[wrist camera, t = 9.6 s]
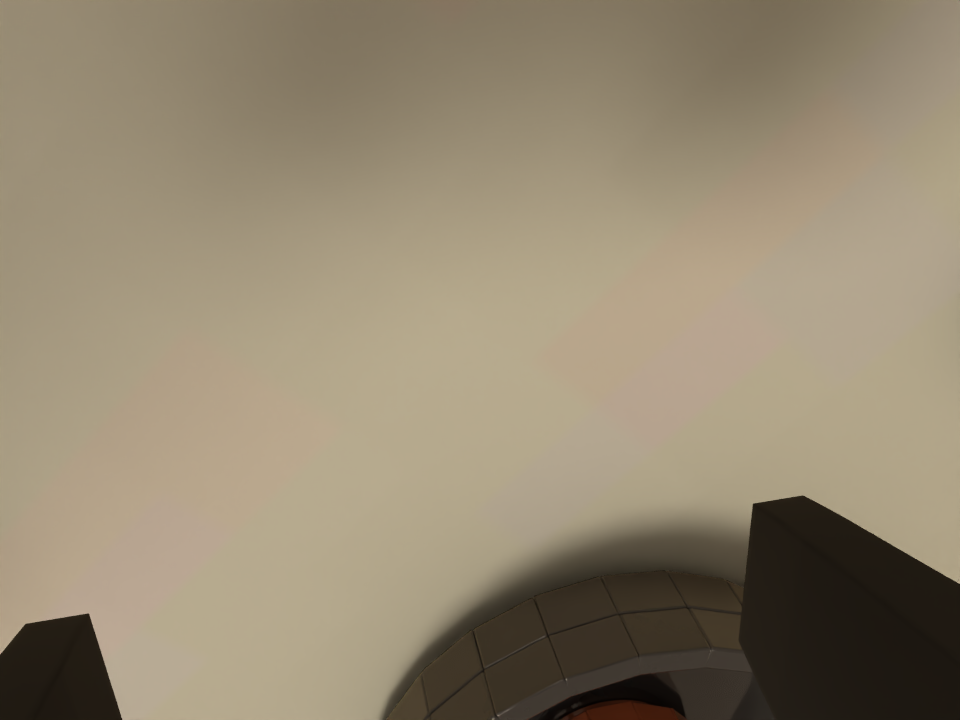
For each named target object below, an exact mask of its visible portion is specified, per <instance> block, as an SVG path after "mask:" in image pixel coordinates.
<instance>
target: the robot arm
mask: <svg viewBox="0 0 960 720" xmlns="http://www.w3.org/2000/svg"><path fill="white" fill-rule="evenodd" d="M738 641H739V643H740V645H741V647H742V650H743V652H744V654H745V656H746V658H747V661H748V663H749V665H750V667H751V670H752V672H753V674H754V676H755V679H756V681H757V683H758V685H759V687H760V689H761V691H762V693H763V696H764V698H765V700H766V702H767V704H768V706H769V708H770V710H771V712H772V714H773V716H774V718H775V720H960V584H959V583H957V582H955V581H953V580H951V579H950V578H948V577H946V576H944V575H943V574H941V573H939V572H937V571H936V570H934V569H932V568H930V567H929V566H927V565H925V564H924V563H922V562H920V561H918V560H917V559H915V558H913V557H911V556H910V555H908V554H906V553H905V552H903V551H901V550H899V549H898V548H896V547H894V546H892V545H891V544H889V543H887V542H886V541H884V540H882V539H880V538H879V537H877V536H875V535H874V534H872V533H870V532H868V531H867V530H865V529H863V528H861V527H860V526H858V525H856V524H854V523H853V522H851V521H849V520H848V519H846V518H844V517H842V516H840V515H839V514H837V513H835V512H833V511H831V510H830V509H828V508H826V507H824V506H822V505H820V504H819V503H817V502H815V501H813V500H811V499H809V498H807V497H805V496H797V497H791V498H785V499H779V500H773V501H767V502H761V503H755V504H753V509H752V518H751V528H750V537H749V546H748V555H747V565H746V574H745V583H744V593H743V602H742V611H741V620H740V630H739V639H738ZM0 720H122V718H121V714H120V711H119V708H118V705H117V702H116V699H115V695H114V692H113V689H112V686H111V683H110V679H109V676H108V673H107V670H106V667H105V663H104V660H103V657H102V654H101V651H100V648H99V644H98V641H97V638H96V635H95V632H94V628H93V625H92V622H91V619H90V616H89V614H83V615H77V616H71V617H65V618H59V619H53V620H47V621H40V622H34V623H28V624H25V625H24V627H23V628H22V629H21V630H20V631H19V633H18V634H17V635H16V636H15V637H14V639H13V640H12V641H11V642H10V643H9V645H8V646H7V647H6V648H5V650H4V651H3V652H2V653H1V654H0Z"/></svg>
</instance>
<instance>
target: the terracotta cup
mask: <svg viewBox="0 0 960 720" xmlns="http://www.w3.org/2000/svg"><path fill="white" fill-rule="evenodd" d="M560 720H687V719H686V718H684V717H683V716H682V715H681V714H679V713H678V712H677V711H675V710H674V709H673V708H668V707H664V706H658V705H652V704H649V703H646V702H642V701H636V700H610V701H604V702H599V703H595V704H592V705H589V706H586V707H583V708H580V709H578V710H576V711H574V712H572V713H570V714H568V715H566V716H565V717H563V718H561V719H560Z"/></svg>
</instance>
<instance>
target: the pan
mask: <svg viewBox="0 0 960 720" xmlns="http://www.w3.org/2000/svg"><path fill="white" fill-rule="evenodd" d="M743 593H744V588H743V587H741V586H739V585H736V584H734V583H732V582H730V581H728V580H724V579H721V578H715V577H708V576H701V575H694V574H687V573H680V572H674V571H667V572H666V571H665V570H663V571H651V572H640V573H628V574H617V575H606V576H601V577H595V578H592V579H589V580H585V581H582V582H579V583H575V584H572V585H569V586H565V587H562V588H559V589H555V590H552V591H549V592H546V593H542V594H539V595H536V596H534V598H530V599H528V600H526V601H525V602H523V603H521V604H519V605H517V606H515V607H513V608H511V609H510V610H508V611H506V612H504V613H502V614H500V615H498V616H497V617H495V618H493V619H491V620H489V621H487V622H485V623H483V624H482V625H480V626H478V627H476V628H475V629H474V630H470V631H469V632H468V633H467V634H466V635H464V636H463V637H462V638H461V639H460V640H458V641H457V642H456V643H455V644H454V645H452V646H451V647H450V648H449V649H448V650H446V651H445V652H444V653H443V654H442V655H441V656H439V657H438V658H437V659H436V660H435V661H433V662H432V663H431V664H430V665H429V666H427V667H426V668H425V669H424V670H423V671H422V673H420V674H419V676H418V677H417V678H416V680H415V681H414V683H413V684H412V685H411V687H410V688H409V689H408V691H407V692H406V693H405V695H404V696H403V697H402V699H401V700H400V701H399V703H398V704H397V705H396V707H395V708H394V710H393V711H392V712H391V714H390V715H389V716H388V718H387V720H560V719H561V718H563V717H565V716H566V715H568V714H570V713H572V712H574V711H576V710H578V709H580V708H583V707H586V706H589V705H592V704H595V703H599V702H604V701H610V700H636V701H642V702H646V703H649V704H652V705H658V706H664V707H668V708H673V709H674V710H675V711H677V712H678V713H679V714H681V715H682V716H683V717H684V718H686V719H687V720H775V718H774V716H773V714H772V712H771V710H770V708H769V706H768V704H767V702H766V700H765V698H764V696H763V693H762V691H761V689H760V687H759V685H758V683H757V681H756V679H755V676H754V674H753V672H752V670H751V667H750V665H749V663H748V661H747V658H746V656H745V654H744V652H743V650H742V647H741V645H740V643H739V641H738V639H739V630H740V620H741V611H742V602H743Z"/></svg>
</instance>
